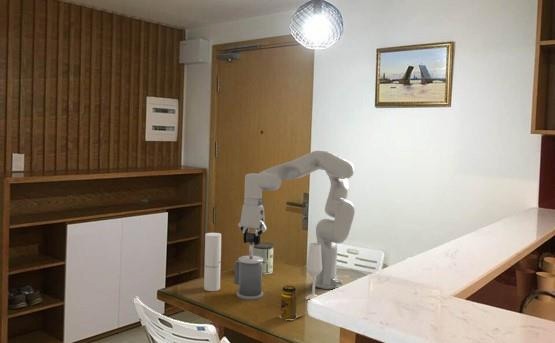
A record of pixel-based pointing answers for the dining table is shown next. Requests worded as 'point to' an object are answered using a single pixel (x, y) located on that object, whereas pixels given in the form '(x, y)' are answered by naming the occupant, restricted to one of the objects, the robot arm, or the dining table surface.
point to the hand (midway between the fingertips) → (251, 243)
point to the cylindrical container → (212, 261)
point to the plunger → (250, 239)
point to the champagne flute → (314, 264)
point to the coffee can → (265, 256)
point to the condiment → (288, 302)
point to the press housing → (249, 277)
